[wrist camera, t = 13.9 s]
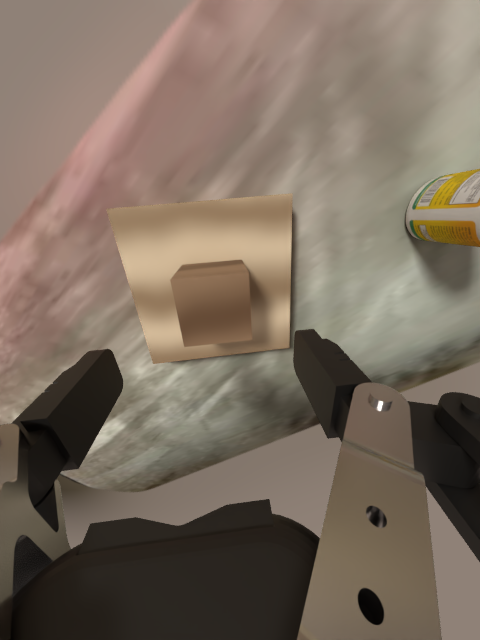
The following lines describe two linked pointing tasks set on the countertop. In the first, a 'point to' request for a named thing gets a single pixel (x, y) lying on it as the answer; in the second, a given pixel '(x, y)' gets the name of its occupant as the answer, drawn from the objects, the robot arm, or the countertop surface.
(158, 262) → the maple block
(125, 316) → the countertop surface
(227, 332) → the walnut cube
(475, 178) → the supplement bottle
